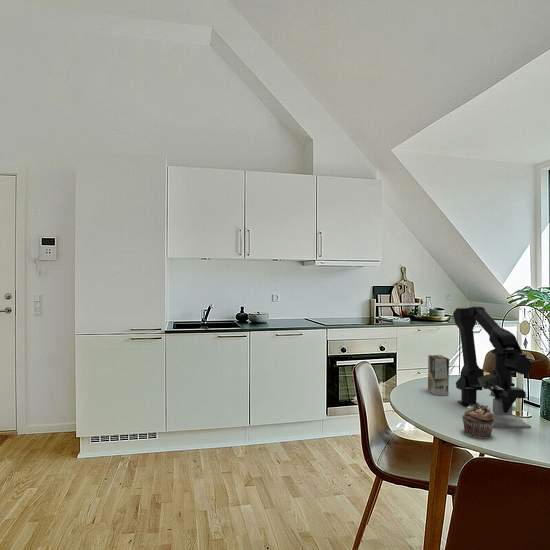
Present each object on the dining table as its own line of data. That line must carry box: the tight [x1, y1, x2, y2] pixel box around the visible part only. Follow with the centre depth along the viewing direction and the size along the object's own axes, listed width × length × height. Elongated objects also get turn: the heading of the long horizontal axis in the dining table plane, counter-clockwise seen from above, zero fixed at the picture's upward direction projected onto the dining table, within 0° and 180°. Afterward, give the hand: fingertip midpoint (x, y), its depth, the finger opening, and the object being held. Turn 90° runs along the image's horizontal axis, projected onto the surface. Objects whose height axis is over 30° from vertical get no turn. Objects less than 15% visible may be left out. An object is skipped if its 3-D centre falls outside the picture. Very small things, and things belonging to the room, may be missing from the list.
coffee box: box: [427, 354, 450, 396], centre depth 193 cm, size 9×6×16 cm
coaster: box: [491, 412, 532, 429], centre depth 156 cm, size 13×13×1 cm
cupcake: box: [461, 402, 494, 439], centre depth 143 cm, size 10×10×10 cm
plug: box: [492, 397, 517, 415], centre depth 156 cm, size 4×7×5 cm, turn 91°
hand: (502, 410), depth 156 cm, fingers closed on plug, 4 cm apart
